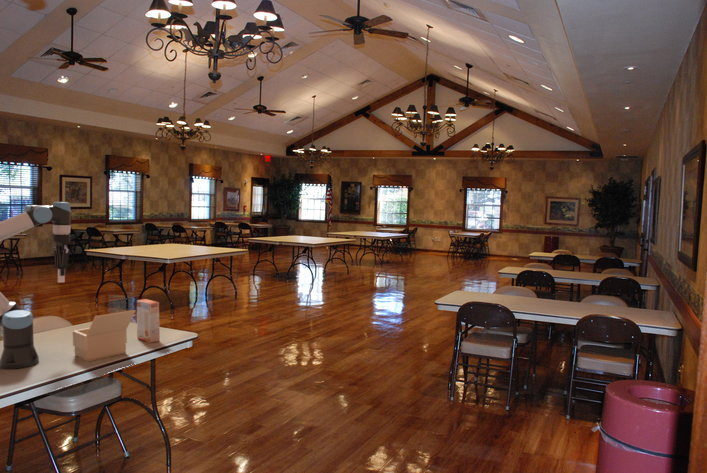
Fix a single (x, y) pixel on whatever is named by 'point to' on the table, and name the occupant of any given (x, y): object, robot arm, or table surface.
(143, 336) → the cracker box
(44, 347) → the table surface
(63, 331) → the table surface
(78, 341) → the carton
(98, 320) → the flap
